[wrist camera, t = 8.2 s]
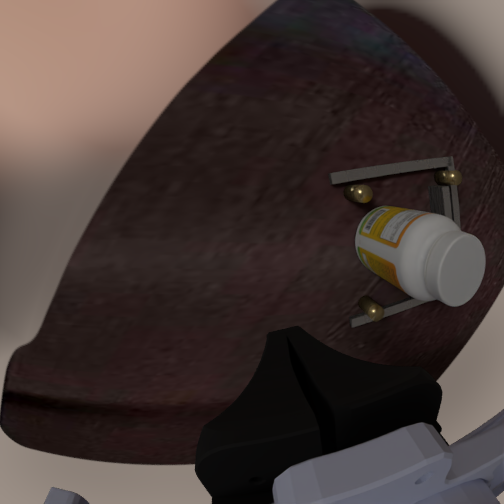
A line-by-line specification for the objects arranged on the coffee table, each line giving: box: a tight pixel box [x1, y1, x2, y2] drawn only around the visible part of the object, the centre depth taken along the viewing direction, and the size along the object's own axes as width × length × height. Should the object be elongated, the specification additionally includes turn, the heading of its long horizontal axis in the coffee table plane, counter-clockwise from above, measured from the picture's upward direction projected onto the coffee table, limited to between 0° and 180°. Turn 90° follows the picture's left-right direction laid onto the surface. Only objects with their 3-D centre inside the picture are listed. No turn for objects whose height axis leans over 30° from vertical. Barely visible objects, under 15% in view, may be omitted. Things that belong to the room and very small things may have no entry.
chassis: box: [328, 157, 462, 328], centre depth 21 cm, size 12×12×2 cm
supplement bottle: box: [355, 206, 485, 307], centre depth 17 cm, size 5×5×10 cm
